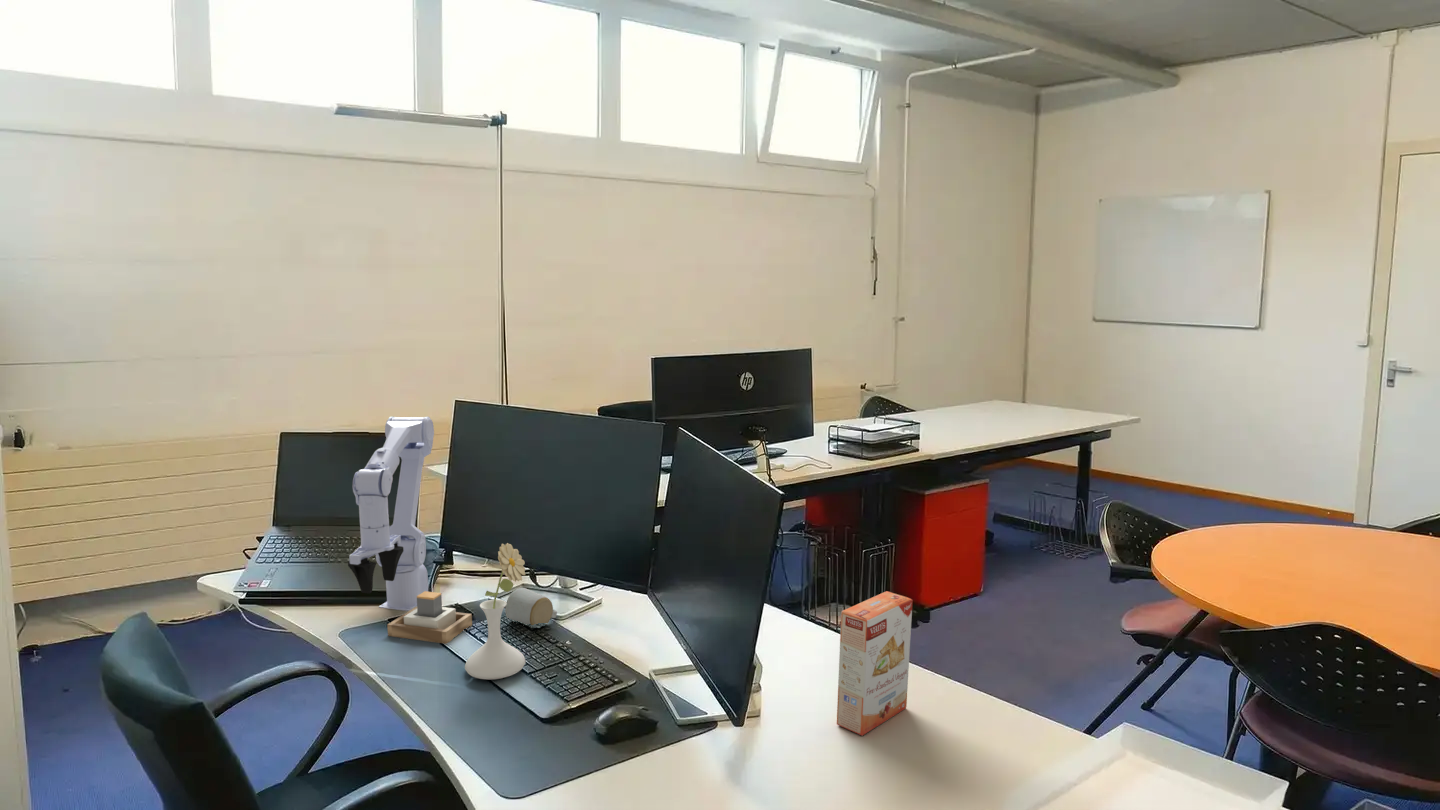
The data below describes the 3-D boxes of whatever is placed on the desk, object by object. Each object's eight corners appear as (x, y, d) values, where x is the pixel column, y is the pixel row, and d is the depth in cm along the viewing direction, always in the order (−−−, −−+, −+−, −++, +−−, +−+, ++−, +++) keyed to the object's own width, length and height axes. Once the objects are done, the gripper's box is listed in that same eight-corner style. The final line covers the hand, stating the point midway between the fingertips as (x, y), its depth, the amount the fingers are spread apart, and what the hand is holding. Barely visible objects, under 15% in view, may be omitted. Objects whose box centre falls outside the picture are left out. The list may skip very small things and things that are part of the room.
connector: (426, 622, 193) (424, 591, 192) (442, 624, 192) (441, 593, 191) (418, 627, 190) (416, 596, 189) (434, 629, 189) (433, 598, 188)
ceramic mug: (532, 635, 191) (531, 600, 190) (504, 626, 195) (504, 592, 194) (566, 619, 199) (565, 586, 198) (539, 611, 204) (538, 579, 203)
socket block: (423, 621, 196) (423, 604, 195) (456, 626, 194) (455, 608, 193) (404, 634, 189) (403, 616, 189) (437, 638, 187) (437, 620, 187)
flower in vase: (493, 691, 166) (488, 561, 162) (452, 675, 172) (446, 550, 168) (544, 665, 176) (540, 543, 172) (503, 651, 183) (499, 533, 179)
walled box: (416, 619, 198) (415, 607, 198) (472, 627, 195) (471, 614, 194) (388, 637, 189) (387, 624, 188) (446, 645, 185) (445, 632, 185)
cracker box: (864, 738, 150) (868, 620, 147) (835, 725, 154) (838, 610, 151) (909, 709, 160) (914, 597, 157) (881, 697, 164) (885, 588, 161)
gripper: (368, 536, 181) (372, 600, 183) (411, 517, 195) (414, 576, 197) (339, 533, 183) (343, 596, 185) (383, 514, 197) (386, 573, 199)
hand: (378, 586), depth 191 cm, fingers open, 7 cm apart
